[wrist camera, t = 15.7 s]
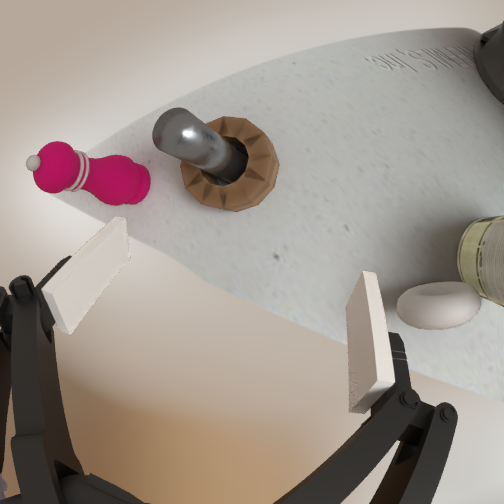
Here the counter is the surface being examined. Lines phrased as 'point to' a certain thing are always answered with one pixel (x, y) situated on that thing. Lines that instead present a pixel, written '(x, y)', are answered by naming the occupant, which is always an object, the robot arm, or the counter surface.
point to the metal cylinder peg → (198, 145)
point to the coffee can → (483, 257)
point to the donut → (439, 305)
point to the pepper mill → (89, 174)
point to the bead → (253, 179)
